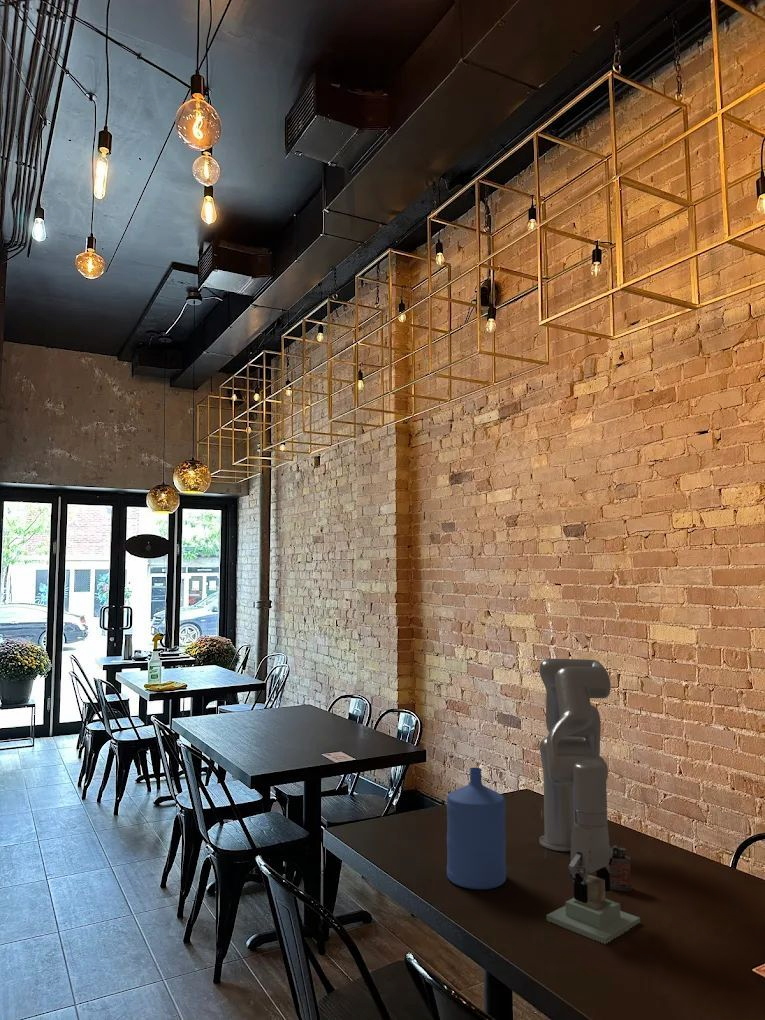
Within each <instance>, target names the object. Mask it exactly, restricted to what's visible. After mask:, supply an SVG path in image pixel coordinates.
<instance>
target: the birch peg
mask: <svg viewBox="0 0 765 1020" xmlns="http://www.w3.org/2000/svg"><path fill="white" fill-rule="evenodd" d="M585 884H587V888H588V902H587V903H583V902H581V905H582V906H585V907H587V908H590V909H593V910H595V911H599V910H601V909H603V908H605V898H606V891H605V880H604V879H601V878H597V876H593V875H591V874H588V877H587V880H586V883H585Z"/></svg>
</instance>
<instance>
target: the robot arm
mask: <svg viewBox="0 0 765 1020" xmlns="http://www.w3.org/2000/svg"><path fill="white" fill-rule="evenodd" d="M539 675H540V678H541V681H542V683H543V686H544V688H545V693H546V695H545V696H546V697H545V698H546V699H545V702H546V703H545V704H546V705H545V726H546V730H547V731H548V734H547V736H546V737H544V738H543V739H542V740H541V742H540V745H539V752H540V759H541V764H542V765H541V766H542V775H543V810H544V811H543V815H544V817H543V818H544V819H543V820H544V823H543V824H544V834H543V835H541V836H539V844H540V845H541V847H544V848H546V849H549V850H553V851H557V852H570V863H569V865H568V871H569V873H570V877H571V879H572V882H573V898H575V900H578V901H581V902H583V903H587V902H588V888H587V884H585V883H586V880H587V877H588V875H590V874H592V873H594V872H596V877H597V878H601V879H604V880H605V892H610V891H611V889H610V872H611V868H610V866H611V863H612V859H611V858H612V855H613V849H612V848H610V847H611V846H610V835H609V828H608V825H609V824H608V794H607V788H608V787H607V780H608V778H609V771H608V769H609V768H608V764H607V762H606V761H605V759H604V758H603V757H602V756H600V755H601V753H600V752H601V731H602V728H601V727H602V725H601V716H600V712H599V710H598V708H597V707H596V706H594V705H592V704H591V699H607V698H608V697H609V696H610V693H611V679H610V675H609V672H608V671H607V669H606V668H605V666H604V665H603V664H602V663H601V662H600V661H598V660H596V659H585V658H583V659H579V658H578V659H577V658H574V659H573V658H545V659H543V660H542V661H541V662H540V663H539ZM608 872H609V873H608ZM580 873H582V875H580Z"/></svg>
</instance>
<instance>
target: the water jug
mask: <svg viewBox="0 0 765 1020" xmlns="http://www.w3.org/2000/svg"><path fill="white" fill-rule="evenodd" d="M469 771H470V773H469V783H468V784H467V785H464V786H463V787H460V788H458V789H455V790H453V791H451V792H450V793H448V795H447V798H446V799H447V801H446V812H447V815H446V816H447V819H446V823H447V826H446V829H447V833H446V845H447V846H446V847H447V849H446V850H447V851H446V853H447V854H446V855H447V857H446V858H447V859H446V862H447V865H446V876H447V878H448V880H449V881H450V882H451V883H453V884H454V885H456V886H459V887H462V888H465V889H468V890H469V889H470V890H491V889H494V888H498V887H500V886H502V885H503V884H504V883H505V882H506V881H507V869H506V867H507V865H506V848H507V838H506V837H507V836H506V812H507V810H506V808H507V807H506V798H505V797H504V795H503V794H501V793H500V792H497V791H495V790H493V789H492V788H489V787H487V786H485V784H484V785H483V783H482V776H483V775H482V768H480V767H470V768H469Z"/></svg>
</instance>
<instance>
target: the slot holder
mask: <svg viewBox="0 0 765 1020" xmlns="http://www.w3.org/2000/svg"><path fill="white" fill-rule="evenodd" d="M546 921H547V922H549V923H551V922H552V924H554V925H556V926H559V927H562V928H564V929H566V930H569V931H571V932H574V933H575V934H579V935H580V936H582V937H586V938H588V939H590V940H593V941H595V940H596V942H598V941H599V942H598V943H600V942H601V944H603V943H604V944H603V945H607V944H608V942H609V943H610V942H611V940H612V941H613V939H614V938H615V939H617V938H618V936H619V937H620V936H622V935H623V934H625V933H627V932H628V931H630V930H631V929H630V928H632V927H633V926H635V925H636V924H638V923H640V924H641V918H640V917H639V916H636V915H633V914H630V913H627V912H625V911H622V910H621V903H620V902H617V901H615V900H612V899H609V898H606V897H605V908H603V909H601V910H599V911H595V910H593V909H590V908H587V907H585V906H582V905H581V901H578V900H575V898H574V897H572V898H571V899H569V900H566V901H565V904H564V906H561V907H560V908H557V909H556V910H554V911H552V912H550V913H548V914H546ZM638 925H639V924H638ZM635 927H636V926H635ZM633 928H634V927H633ZM633 928H632V929H633ZM629 929H630V930H629ZM626 931H627V932H626ZM624 932H625V933H624ZM621 934H622V935H621ZM616 937H617V938H616ZM615 939H614V940H615ZM606 943H607V944H606Z"/></svg>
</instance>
